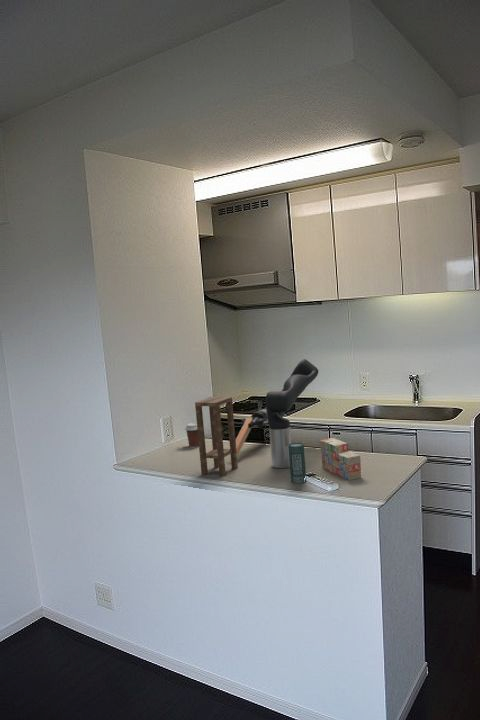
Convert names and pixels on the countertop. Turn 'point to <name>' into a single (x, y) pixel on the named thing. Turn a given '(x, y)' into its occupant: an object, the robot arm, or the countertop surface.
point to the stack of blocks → (340, 459)
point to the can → (297, 462)
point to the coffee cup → (192, 435)
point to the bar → (243, 435)
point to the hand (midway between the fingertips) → (245, 425)
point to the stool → (216, 434)
